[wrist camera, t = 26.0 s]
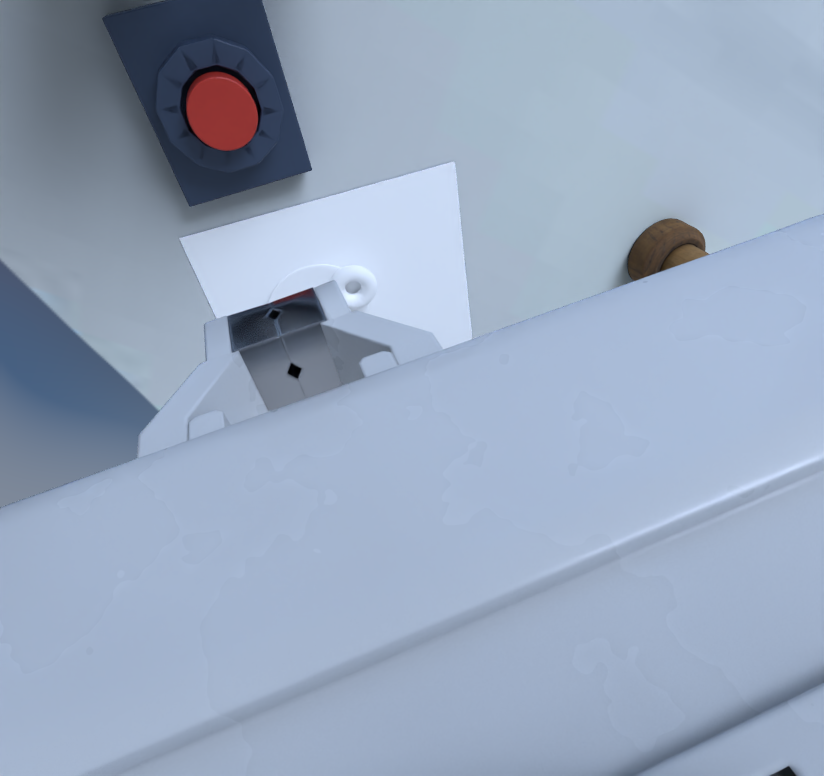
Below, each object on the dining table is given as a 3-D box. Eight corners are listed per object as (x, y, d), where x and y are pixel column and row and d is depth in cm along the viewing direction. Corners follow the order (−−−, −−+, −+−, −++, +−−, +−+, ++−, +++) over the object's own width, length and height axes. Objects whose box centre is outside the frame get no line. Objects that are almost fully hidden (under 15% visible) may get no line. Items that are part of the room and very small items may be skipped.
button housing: (105, 15, 29) (97, 21, 26) (252, -22, 30) (259, -20, 27) (189, 198, 35) (190, 217, 33) (307, 162, 36) (317, 178, 34)
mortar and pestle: (698, 214, 50) (889, 308, 36) (676, 278, 54) (841, 385, 40) (637, 222, 48) (814, 324, 35) (619, 288, 52) (771, 402, 39)
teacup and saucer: (365, 245, 41) (380, 268, 38) (384, 331, 46) (399, 357, 43) (251, 279, 40) (257, 306, 37) (284, 363, 45) (292, 393, 42)
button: (174, 81, 29) (173, 87, 27) (240, 63, 29) (243, 68, 28) (203, 150, 31) (204, 159, 30) (264, 133, 32) (267, 140, 30)
